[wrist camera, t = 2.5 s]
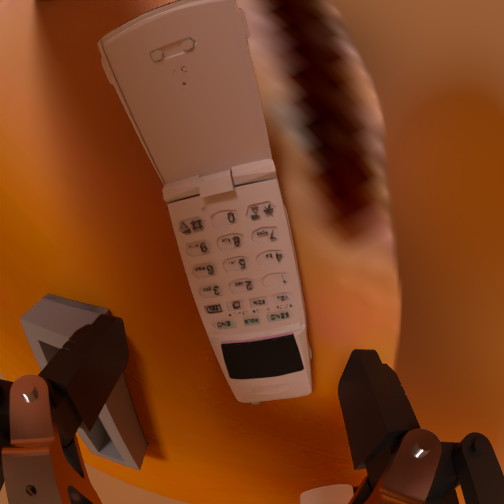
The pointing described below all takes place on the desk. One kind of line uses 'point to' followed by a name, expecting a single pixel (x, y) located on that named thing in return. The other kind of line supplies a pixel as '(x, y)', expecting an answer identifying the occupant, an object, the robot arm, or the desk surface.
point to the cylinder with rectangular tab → (328, 495)
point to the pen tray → (119, 402)
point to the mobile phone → (218, 186)
